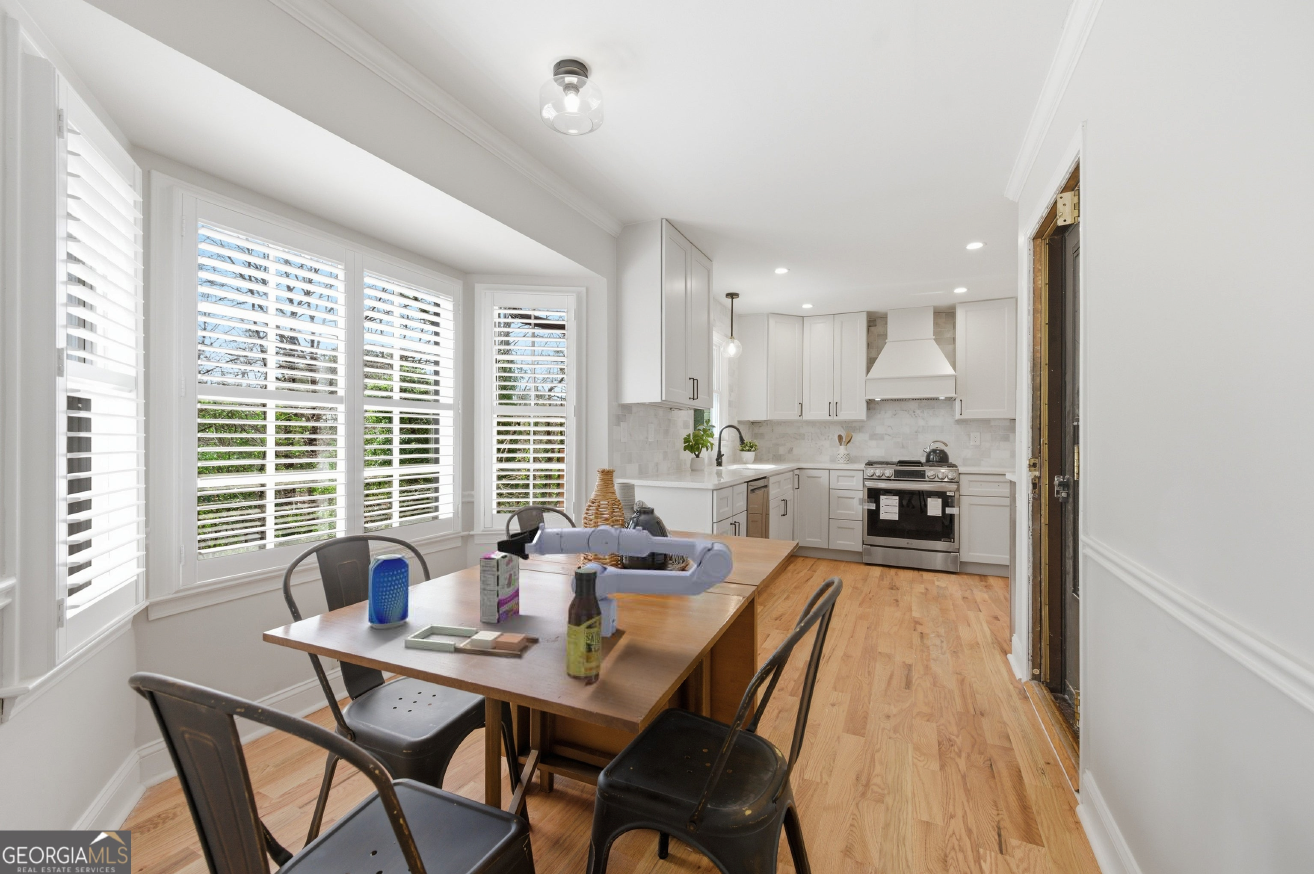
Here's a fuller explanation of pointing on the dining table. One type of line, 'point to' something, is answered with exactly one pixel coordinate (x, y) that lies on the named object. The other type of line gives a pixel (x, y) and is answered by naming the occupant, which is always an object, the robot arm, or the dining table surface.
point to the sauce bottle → (584, 629)
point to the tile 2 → (511, 642)
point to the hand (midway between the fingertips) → (504, 542)
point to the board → (467, 649)
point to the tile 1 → (485, 639)
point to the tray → (418, 642)
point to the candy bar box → (499, 586)
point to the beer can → (388, 590)
